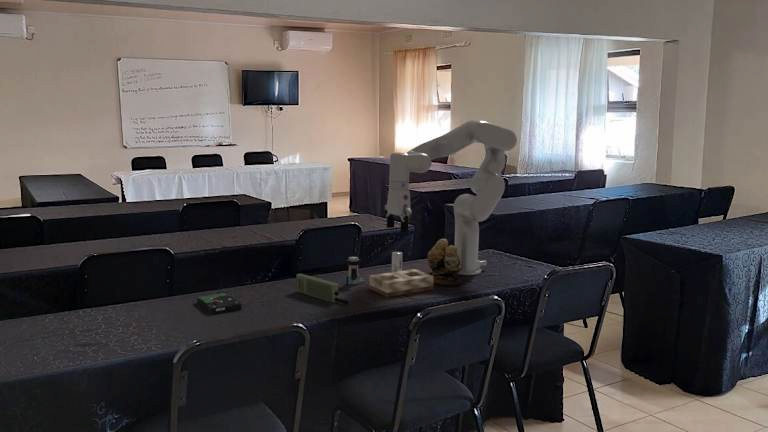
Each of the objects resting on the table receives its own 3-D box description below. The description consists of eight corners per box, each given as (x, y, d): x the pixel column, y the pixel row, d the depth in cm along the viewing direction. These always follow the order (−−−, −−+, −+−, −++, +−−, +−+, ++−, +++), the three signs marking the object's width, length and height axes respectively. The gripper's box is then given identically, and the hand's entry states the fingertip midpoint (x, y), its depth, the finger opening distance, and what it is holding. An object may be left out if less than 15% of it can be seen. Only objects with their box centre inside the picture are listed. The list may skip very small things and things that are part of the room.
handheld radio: (302, 290, 240) (351, 305, 224) (295, 292, 238) (344, 307, 221) (301, 272, 239) (350, 286, 222) (294, 274, 237) (343, 288, 220)
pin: (398, 276, 261) (398, 251, 259) (403, 278, 258) (404, 253, 256) (389, 277, 259) (390, 252, 257) (395, 279, 256) (395, 254, 254)
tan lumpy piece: (471, 284, 251) (472, 240, 248) (447, 290, 244) (449, 244, 241) (439, 274, 265) (440, 232, 262) (416, 279, 258) (417, 235, 255)
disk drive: (242, 311, 217) (226, 299, 229) (242, 303, 216) (225, 291, 228) (211, 316, 211) (196, 304, 223) (211, 308, 210) (196, 296, 222)
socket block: (414, 281, 253) (414, 269, 252) (433, 289, 243) (433, 276, 242) (369, 288, 243) (369, 275, 242) (386, 297, 233) (387, 283, 232)
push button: (359, 280, 254) (359, 255, 252) (366, 284, 249) (366, 258, 248) (343, 282, 250) (344, 256, 249) (350, 286, 246) (350, 259, 244)
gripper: (420, 187, 247) (418, 233, 250) (394, 182, 261) (393, 225, 264) (403, 188, 243) (401, 234, 246) (378, 183, 257) (377, 226, 260)
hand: (397, 229), depth 255 cm, fingers open, 9 cm apart
